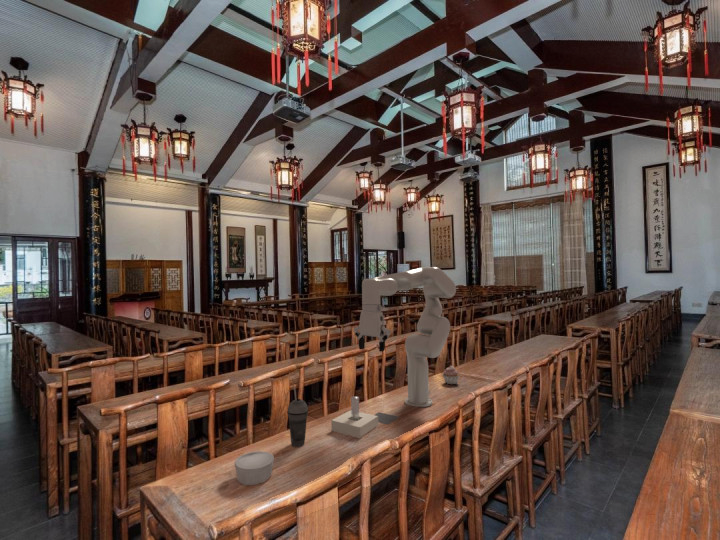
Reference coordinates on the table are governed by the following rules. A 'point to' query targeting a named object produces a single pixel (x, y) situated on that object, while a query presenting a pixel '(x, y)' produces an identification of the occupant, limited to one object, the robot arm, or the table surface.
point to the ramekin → (254, 467)
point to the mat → (385, 418)
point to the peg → (355, 408)
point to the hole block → (354, 424)
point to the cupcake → (451, 375)
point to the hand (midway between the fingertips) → (371, 349)
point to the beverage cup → (297, 421)
